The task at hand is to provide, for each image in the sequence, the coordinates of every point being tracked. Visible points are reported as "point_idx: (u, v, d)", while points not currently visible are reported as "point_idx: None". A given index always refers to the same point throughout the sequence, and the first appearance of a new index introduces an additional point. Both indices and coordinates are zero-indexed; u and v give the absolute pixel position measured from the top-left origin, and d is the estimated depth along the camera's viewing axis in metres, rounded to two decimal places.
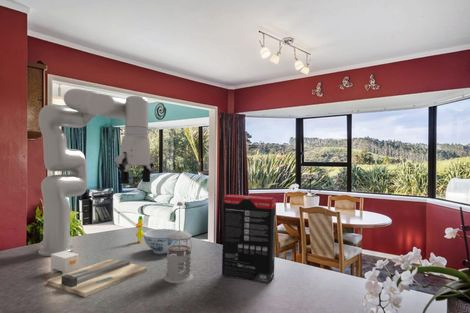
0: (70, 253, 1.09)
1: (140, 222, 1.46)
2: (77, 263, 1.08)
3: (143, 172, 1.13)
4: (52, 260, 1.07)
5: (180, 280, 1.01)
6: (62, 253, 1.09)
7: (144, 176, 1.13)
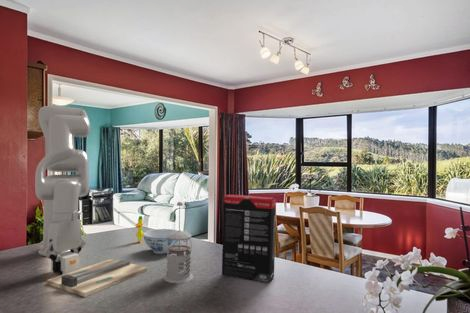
0: (70, 253, 1.09)
1: (140, 222, 1.46)
2: (77, 263, 1.08)
3: None
4: None
5: (180, 280, 1.01)
6: (62, 253, 1.09)
7: None
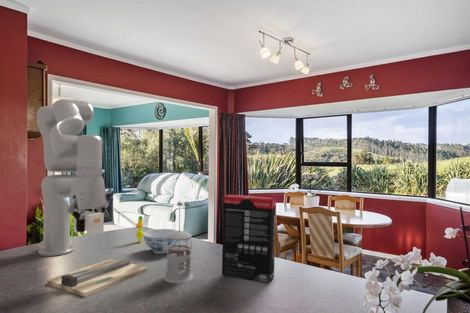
0: (93, 213, 1.03)
1: (140, 222, 1.46)
2: (101, 222, 1.02)
3: None
4: (75, 219, 1.01)
5: (180, 280, 1.01)
6: (85, 212, 1.03)
7: None
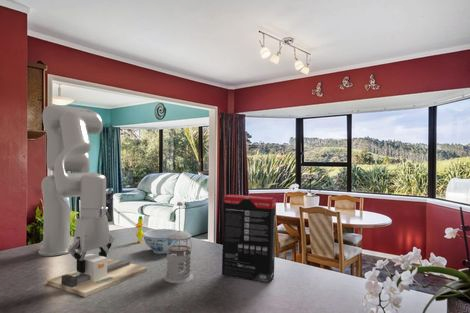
0: (97, 257, 1.02)
1: (140, 222, 1.46)
2: (105, 267, 1.01)
3: (99, 254, 1.05)
4: None
5: (180, 280, 1.01)
6: (89, 256, 1.02)
7: None
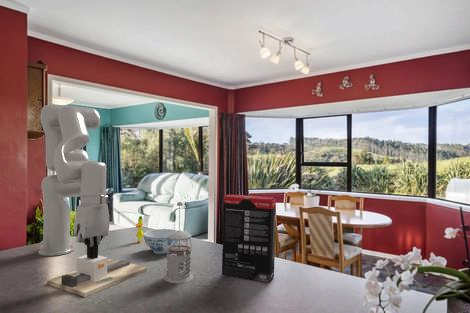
0: None
1: (140, 222, 1.46)
2: (105, 267, 1.01)
3: None
4: (78, 264, 1.01)
5: (180, 280, 1.01)
6: None
7: None
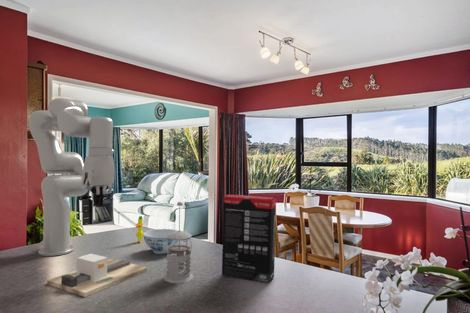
0: (97, 257, 1.02)
1: (140, 222, 1.46)
2: (105, 267, 1.01)
3: None
4: (78, 264, 1.01)
5: (180, 280, 1.01)
6: (89, 256, 1.02)
7: None
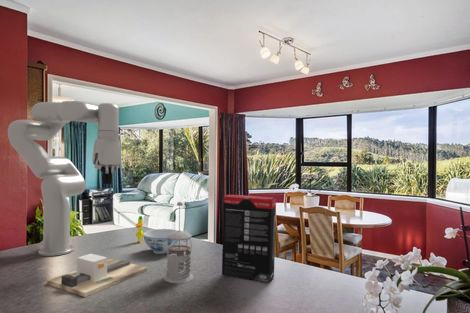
0: (97, 257, 1.02)
1: (140, 222, 1.46)
2: (105, 267, 1.01)
3: None
4: (78, 264, 1.01)
5: (180, 280, 1.01)
6: (89, 256, 1.02)
7: None
